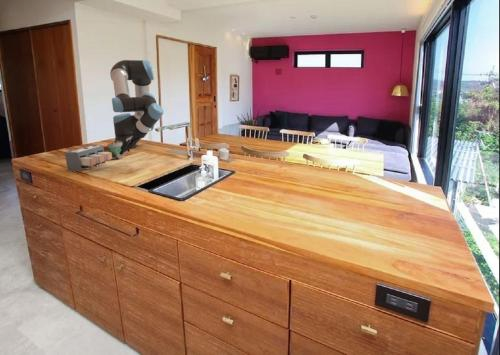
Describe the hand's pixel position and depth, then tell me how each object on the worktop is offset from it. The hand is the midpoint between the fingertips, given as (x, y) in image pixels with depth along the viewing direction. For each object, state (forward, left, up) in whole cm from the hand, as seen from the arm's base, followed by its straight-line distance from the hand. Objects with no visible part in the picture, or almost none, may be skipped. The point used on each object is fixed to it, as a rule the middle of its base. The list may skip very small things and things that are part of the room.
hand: (118, 157), depth 183 cm
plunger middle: (+11, -3, -2) cm, 12 cm away
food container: (-2, -19, -5) cm, 20 cm away
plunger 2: (+7, -7, -2) cm, 10 cm away
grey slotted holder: (+16, -7, -5) cm, 18 cm away
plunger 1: (+16, +2, -2) cm, 16 cm away
